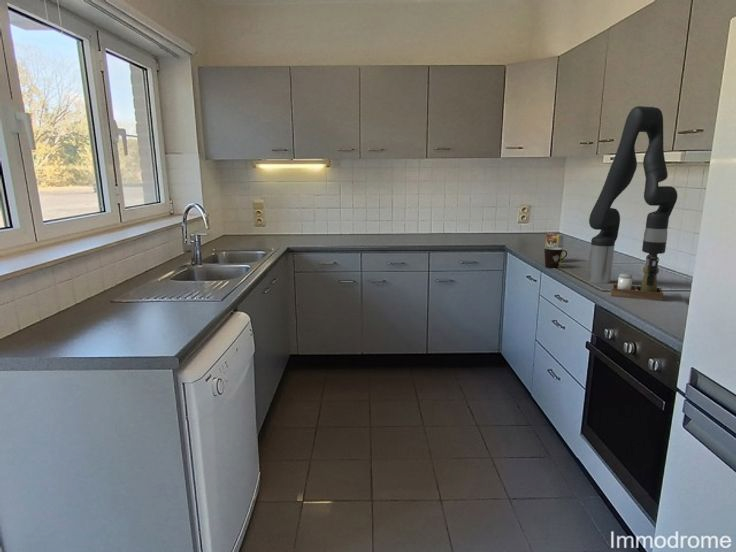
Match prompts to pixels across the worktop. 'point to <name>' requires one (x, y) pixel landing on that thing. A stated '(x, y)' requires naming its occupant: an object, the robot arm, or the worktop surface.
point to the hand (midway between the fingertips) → (649, 283)
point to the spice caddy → (636, 293)
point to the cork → (644, 282)
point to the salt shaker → (625, 281)
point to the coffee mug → (553, 256)
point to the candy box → (555, 241)
